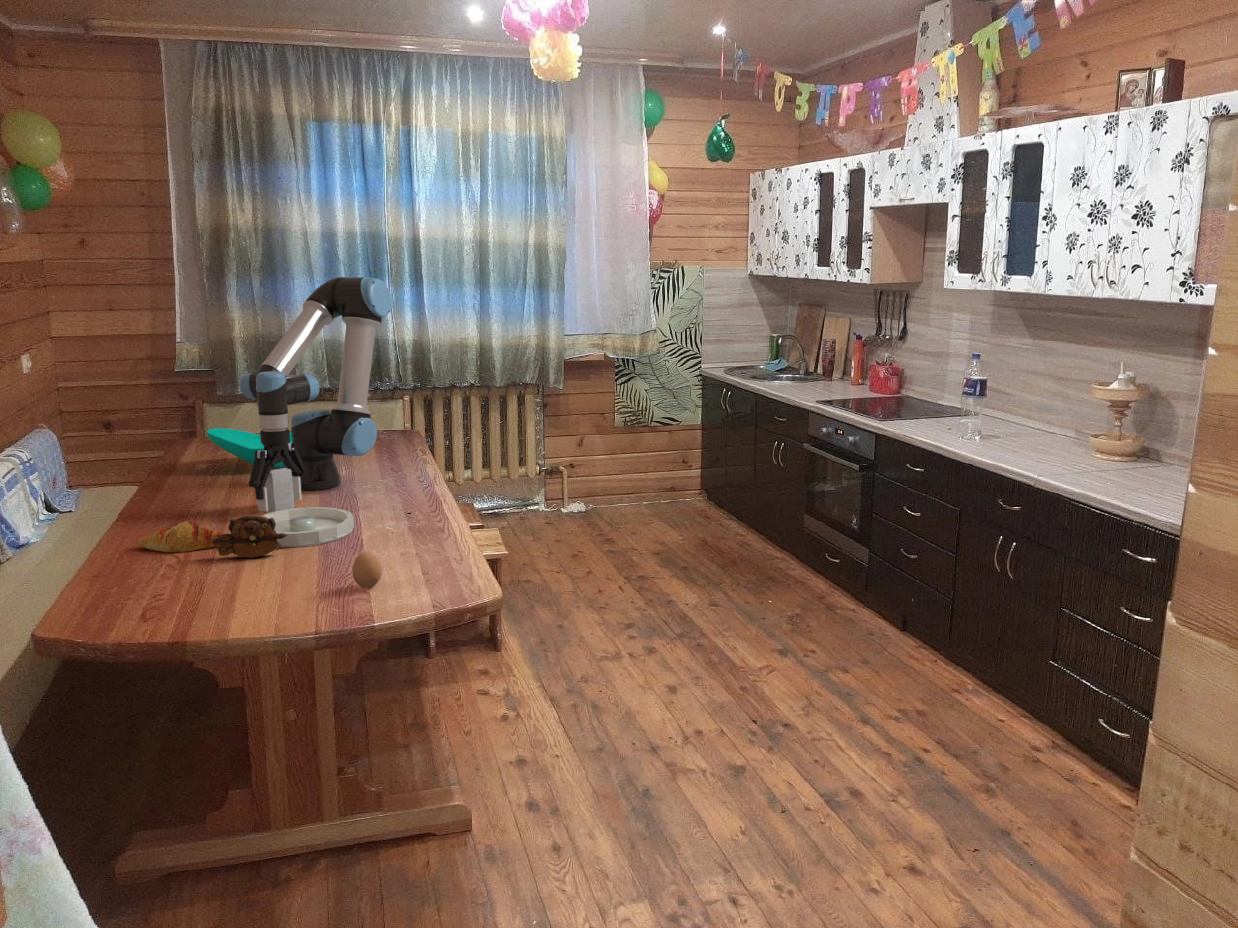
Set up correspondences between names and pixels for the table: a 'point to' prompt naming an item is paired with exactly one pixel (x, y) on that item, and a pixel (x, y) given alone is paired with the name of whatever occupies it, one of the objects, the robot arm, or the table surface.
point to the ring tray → (322, 522)
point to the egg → (366, 570)
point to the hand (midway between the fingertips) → (280, 504)
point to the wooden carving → (249, 537)
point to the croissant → (180, 538)
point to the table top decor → (239, 443)
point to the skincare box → (280, 490)
